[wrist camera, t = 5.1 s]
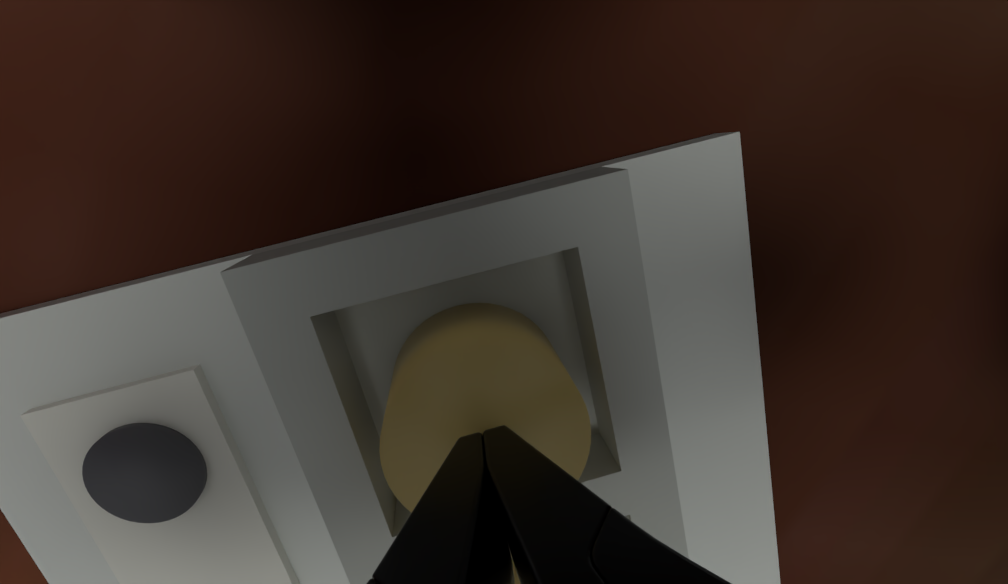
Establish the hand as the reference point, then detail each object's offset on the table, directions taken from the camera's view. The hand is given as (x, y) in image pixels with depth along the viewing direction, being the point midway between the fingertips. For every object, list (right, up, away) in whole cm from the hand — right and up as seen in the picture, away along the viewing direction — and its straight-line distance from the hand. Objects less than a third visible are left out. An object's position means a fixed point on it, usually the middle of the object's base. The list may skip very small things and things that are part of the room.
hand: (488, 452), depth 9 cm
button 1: (0, +1, +3) cm, 3 cm away
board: (-1, -5, +6) cm, 8 cm away
